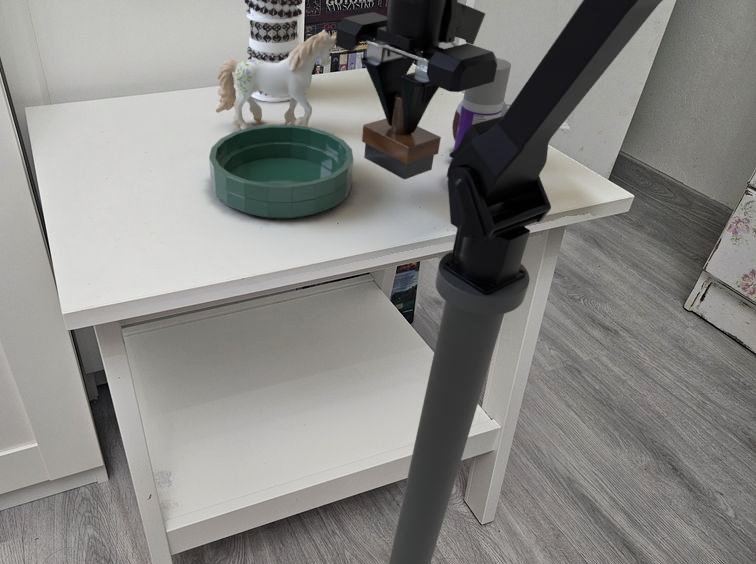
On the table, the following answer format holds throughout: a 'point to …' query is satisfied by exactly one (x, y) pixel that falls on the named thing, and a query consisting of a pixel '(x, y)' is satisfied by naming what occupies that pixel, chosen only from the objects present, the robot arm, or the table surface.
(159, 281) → the table surface
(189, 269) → the table surface
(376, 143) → the scrub brush
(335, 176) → the wash bowl
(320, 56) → the unicorn figurine
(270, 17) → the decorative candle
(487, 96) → the container
